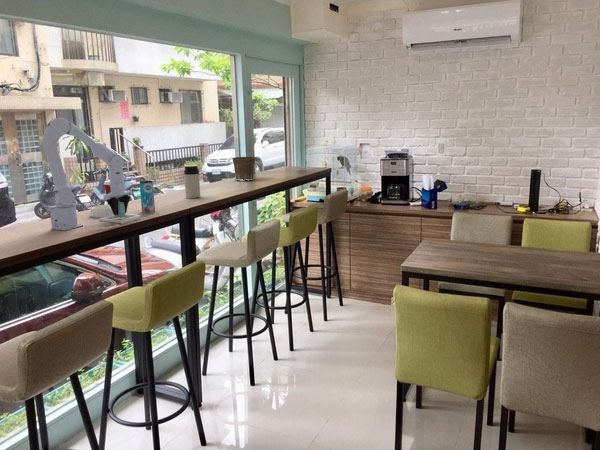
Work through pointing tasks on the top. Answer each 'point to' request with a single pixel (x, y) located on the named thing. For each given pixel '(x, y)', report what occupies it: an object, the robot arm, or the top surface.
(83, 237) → the top surface
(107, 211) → the bowl
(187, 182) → the travel mug
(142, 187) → the beverage can
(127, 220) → the tray
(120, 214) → the peg
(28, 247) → the top surface
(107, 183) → the paper cup
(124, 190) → the robot arm
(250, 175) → the plant pot
